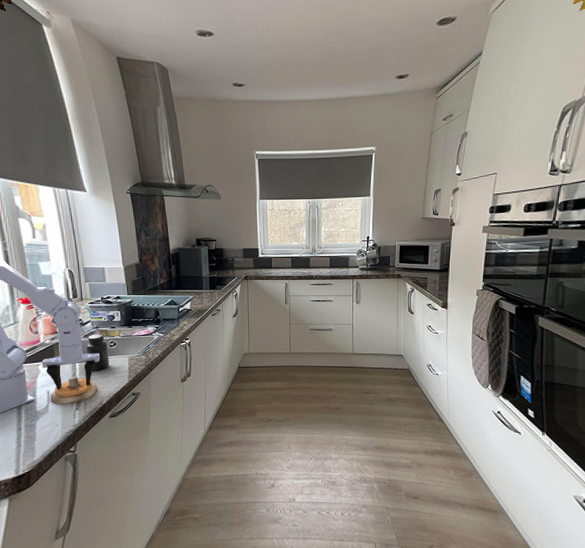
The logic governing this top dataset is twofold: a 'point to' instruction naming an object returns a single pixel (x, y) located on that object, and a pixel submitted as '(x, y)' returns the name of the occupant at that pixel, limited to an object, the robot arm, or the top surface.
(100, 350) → the supplement bottle
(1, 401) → the robot arm
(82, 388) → the rubber ring
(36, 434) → the top surface
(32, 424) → the top surface
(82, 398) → the post stand
